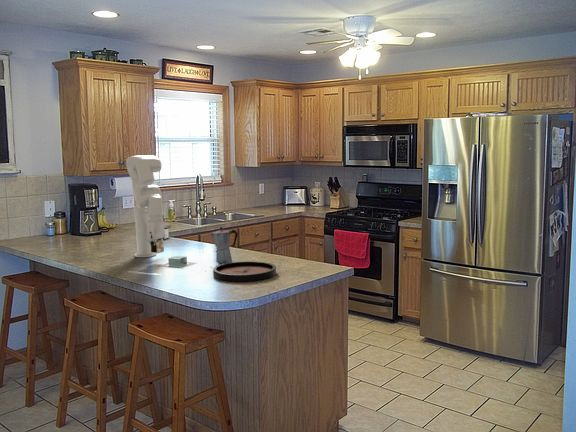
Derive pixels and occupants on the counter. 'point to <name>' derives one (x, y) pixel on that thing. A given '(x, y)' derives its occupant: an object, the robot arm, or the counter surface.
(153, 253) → the robot arm
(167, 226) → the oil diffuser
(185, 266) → the build board
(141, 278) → the counter surface
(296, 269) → the counter surface
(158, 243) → the maple block
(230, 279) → the round serving tray
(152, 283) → the counter surface
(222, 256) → the moka pot
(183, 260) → the teal base block
